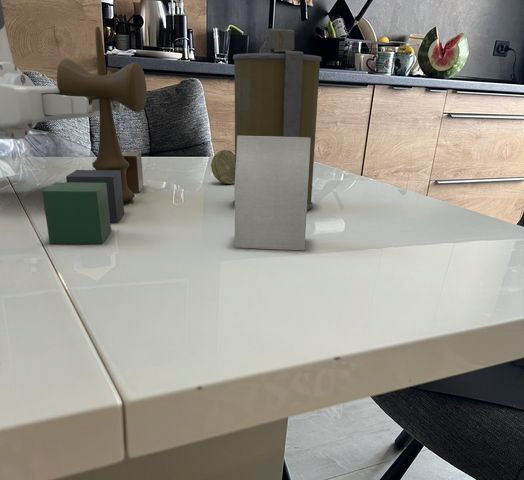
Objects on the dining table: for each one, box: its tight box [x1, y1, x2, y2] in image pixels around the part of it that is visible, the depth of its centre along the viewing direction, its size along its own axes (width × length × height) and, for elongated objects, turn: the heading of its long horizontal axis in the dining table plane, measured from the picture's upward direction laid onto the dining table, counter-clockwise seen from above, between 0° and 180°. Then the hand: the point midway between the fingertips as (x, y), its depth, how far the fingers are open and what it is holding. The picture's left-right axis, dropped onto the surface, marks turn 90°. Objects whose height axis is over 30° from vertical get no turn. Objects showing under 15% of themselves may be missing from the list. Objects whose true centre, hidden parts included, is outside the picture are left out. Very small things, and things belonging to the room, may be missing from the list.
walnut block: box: [121, 151, 144, 194], centre depth 79 cm, size 5×5×5 cm
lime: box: [210, 149, 235, 185], centre depth 86 cm, size 4×5×5 cm
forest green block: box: [41, 181, 112, 245], centre depth 54 cm, size 5×5×5 cm
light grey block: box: [234, 136, 311, 251], centre depth 52 cm, size 4×7×10 cm, turn 85°
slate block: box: [65, 169, 125, 224], centre depth 62 cm, size 5×5×5 cm
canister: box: [232, 28, 323, 211], centre depth 67 cm, size 11×10×20 cm
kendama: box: [56, 25, 148, 203], centre depth 68 cm, size 6×10×20 cm, turn 82°
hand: (106, 104), depth 67 cm, fingers open, 8 cm apart
